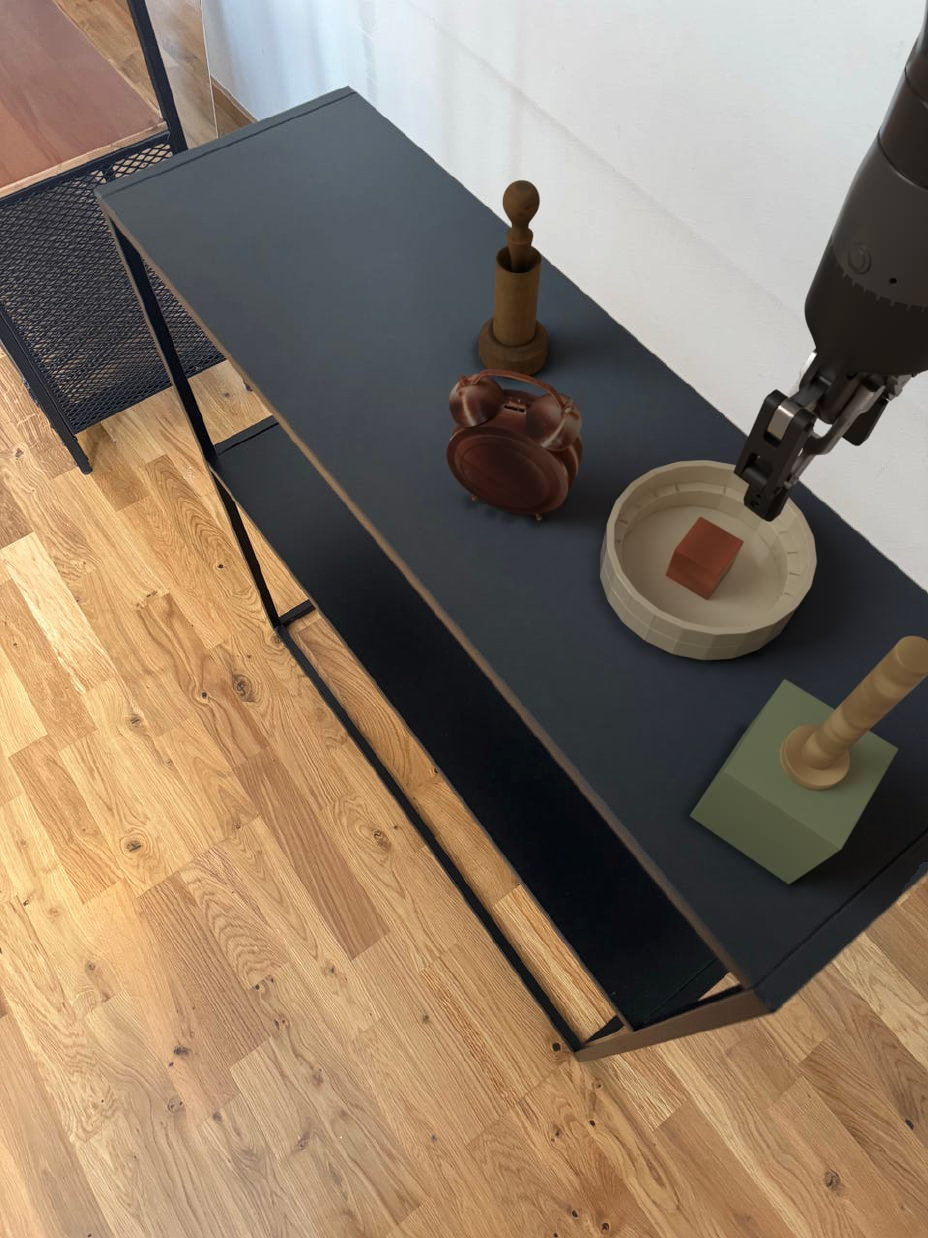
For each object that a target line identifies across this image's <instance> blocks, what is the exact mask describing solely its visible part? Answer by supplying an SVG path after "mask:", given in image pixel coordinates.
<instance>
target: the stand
mask: <svg viewBox="0 0 928 1238" xmlns="http://www.w3.org/2000/svg"><path fill="white" fill-rule="evenodd" d="M835 709H836V708H833V707H831V706H830V705H828V704H827V703H825V702H823V701H821V700H820V699H818V698H817V697H815V696H813V695H812V694H811V693H809V692H807V691H805V690H804V689H802V688H801V687H799V686H798V685H795V684H794V683H792V682H791V681H789V680H787V679H786V678H784V679H783V680H782V681H781V683H780V684H779V685H778V687H777V688H776V690H775V691H774V693H773V694H772V695H771V696H770V698H768V700H767V701H766V703H765V704H764V706H763V707H762V709H760V711H759V713H758V714H757V715H756V717H755V718H754V719H753V721H752V722H751V723H750V724H749V726H748V727H747V729H746V730H745V731H744V733H743V734H742V735H741V737H740V739H739V740H738V742H737V743H736V745H735V746H734V748H733V749H732V751H731V752H730V754H729V755H728V757H727V758H726V760H725V761H724V762H723V765H722V766H721V768H720V769H719V771H718V772H717V774H716V775H715V776H714V778H713V779H712V781H711V783H710V784H709V786H708V787H707V789H706V790H705V792H704V794H703V795H702V796H701V798H700V800H698V802H697V804H696V806H695V807H694V808H693V810H692V811H691V813H690V814H689V817H690V818H692V819H693V820H695V822H697V823H699V824H701V826H703V827H705V828H706V829H707V830H709V831H711V832H712V833H713V834H715V835H717V836H718V837H719V838H721V839H722V840H724V841H725V842H726V843H728V844H729V845H731V846H732V847H734V848H735V849H737V850H738V851H739V852H741V853H742V854H743V855H745V856H747V857H748V858H750V859H751V860H753V861H754V862H755V863H757V864H759V865H760V866H761V867H763V868H764V869H766V870H767V871H768V872H770V873H771V874H773V875H774V876H775V877H777V878H779V879H780V880H781V881H783V882H784V883H786V884H787V885H791V884H792V883H794V882H796V881H797V880H798V879H800V878H801V877H803V876H804V875H806V874H807V873H808V872H810V871H812V870H813V869H815V868H816V867H818V866H819V865H820V864H822V863H824V862H825V861H826V860H827V859H829V858H831V857H832V856H834V855H835V854H837V853H839V852H840V851H841V850H842V849H843V848H844V846H845V844H846V842H847V841H848V839H849V837H850V835H851V833H852V832H853V830H854V828H855V826H856V825H857V823H858V821H859V819H860V818H861V816H862V814H863V813H864V811H865V809H866V807H867V805H868V804H869V802H870V800H871V799H872V797H873V794H875V791H876V789H877V788H878V786H879V784H880V782H881V781H882V779H883V777H884V775H885V774H886V772H887V770H888V768H889V767H890V765H891V763H892V761H893V760H894V758H895V756H896V754H897V752H898V751H899V748H898V747H897V746H895V745H894V744H891V743H890V742H888V741H886V740H885V739H883V738H882V737H880V736H878V735H877V734H875V733H873V732H872V731H870V730H869V731H868V732H866V733H865V734H864V735H863V736H862V737H861V738H860V739H859V740H858V741H857V742H856V743H855V744H854V745H852V746H851V747H850V748H849V749H848V752H849V756H850V766H849V770H848V772H847V774H846V775H845V777H844V778H843V779H842V780H841V781H840V782H838V783H837V784H836V785H835V786H833V787H831V788H829V789H825V790H811V789H807V788H804V787H802V786H800V785H798V784H797V783H795V782H794V781H793V780H792V779H791V778H790V777H789V776H788V775H787V773H786V772H785V770H784V769H783V766H782V764H781V760H780V749H781V746H782V743H783V741H784V740H785V739H786V737H787V736H788V735H789V734H790V733H791V732H792V731H793V730H794V729H796V728H798V727H800V726H804V725H819V726H821V725H822V723H823V722H824V721H825V720H826V719H827V718H828V717H829V716H830V715H831V714H832V713H833V712H834V711H835Z"/></svg>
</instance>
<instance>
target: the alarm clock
mask: <svg viewBox="0 0 928 1238" xmlns="http://www.w3.org/2000/svg"><path fill="white" fill-rule="evenodd" d="M493 377H501V378H507V379H508V378H509V379H513V380H517V381H520V382H523V383H527V384H529V385H532V386H535V387H537V388H539V389H540V390H541V389H542V390H544V391H545V392H547V393H545V394H542V395H540V396H538V395H536V394H534V393H530V392H527V391H523V390H517V389H511V388H502V386H501V385H500V384H499V382H498V381H496V380H495V379H494V378H493ZM448 406H449V407H448V408H449V412H450V414H451V416H452V418H453V420H454V422H455V426H454V428H453V431H452V433H451V435H450V440H449V442H448V445H447V447H446V454H445V455H446V461H447V464H448V468H449V470H450V472H451V473H452V475H453V476H454V478H455V479H456V481H457V482H458V483H459V484H460V486H462V487H463V488H464V490H466V491H467V492H468V493H469V494H471V500H472V501H477V500H480V501H482V502H483V503H485V504H487V505H489V506H491V507H494V508H496V509H498V510H501V511H504V512H507V513H512V514H517V515H529V516H530V515H531V516H532V515H533V516H535V518H536V520H537V521H541V520H542V519H543V517H542V514H546V513H549V512H551V511H554V510H556V509H557V508H558V507H560V506H561V505H562V504H563V503H564V501H565V500H566V498H567V496H568V494H569V492H570V490H571V489H572V487H573V485H574V484H575V481H576V479H577V476H578V473H579V468H580V465H581V460H582V458H583V451H584V449H583V448H584V446H583V440H582V436H581V430H582V428H583V417H582V413H581V410H580V407H579V406H578V404H577V403H576V402H575V401H574V400H573V399H572V398H571V397H569V396H568V395H566V394H564V393H560V392H558V391H557V390H556V389H555V388H554V387H553V386H552V385H550V384H548V383H546V382H545V381H542V380H540V379H538V378H535V377H533V376H532V375H530V376H527V375H524V374H520V373H517V372H513V371H506V370H499V369H487V368H486V369H483V370H481V371H480V373H474V374H470V375H467V376H466V375H465V374H461V375H459V376H458V382H457V383H456V384H455V385H454V387H453V388H452V390H451V392H450V394H449V397H448Z"/></svg>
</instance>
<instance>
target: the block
mask: <svg viewBox="0 0 928 1238" xmlns="http://www.w3.org/2000/svg"><path fill="white" fill-rule="evenodd" d="M743 543H744V541H743V540H741V539H739V538H737V537H736V536H734V535H732V534H730V533H729V532H727V531H725V530H723V529H722V528H720V527H718V526H716V525H715V524H713V523H711V522H709V521H708V520H706V519H704V518H702V517H699V519H698V520H697V521H696V523H695V524H694V525H693V526H692V528H691V529H690V530H689V532H688V533H687V534H686V535H685V537H684V538H683V539H682V540H681V542H680V543H679V544H678V546H677V547H676V548H675V550H674V553H673V555H672V558H671V561H670V564H669V566H668V569H667V572H666V576H667V577H669V578H671V579H672V580H674V581H676V582H677V583H679V584H681V585H682V586H684V587H685V588H687V589H689V590H690V591H692V592H694V593H695V594H697V595H699V596H700V597H702V598H704V599H705V600H708V599H709V598H710V596H711V595H712V594H713V592H714V591H715V589H716V588H717V587H718V585H719V584H720V583H721V581H722V580H723V579H724V577H725V576H726V575H727V573H728V572H729V570H730V569H731V568H732V566H733V564H734V561H735V559H736V557H737V555H738V553H739V551H740V549H741V547H742V545H743Z"/></svg>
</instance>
